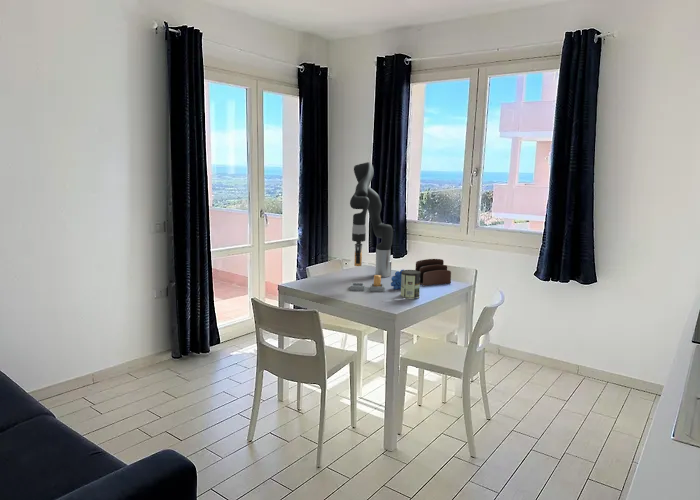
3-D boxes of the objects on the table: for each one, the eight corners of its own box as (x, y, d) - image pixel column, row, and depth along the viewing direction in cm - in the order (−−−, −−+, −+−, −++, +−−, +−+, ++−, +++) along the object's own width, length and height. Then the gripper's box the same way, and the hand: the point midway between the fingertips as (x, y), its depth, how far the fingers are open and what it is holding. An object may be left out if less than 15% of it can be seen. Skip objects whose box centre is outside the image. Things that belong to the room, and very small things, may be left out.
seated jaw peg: (377, 288, 291) (378, 274, 290) (381, 289, 288) (382, 276, 287) (372, 289, 289) (372, 275, 288) (376, 290, 286) (376, 276, 285)
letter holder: (414, 282, 314) (415, 259, 311) (441, 279, 321) (443, 257, 319) (422, 285, 304) (424, 262, 302) (451, 283, 312) (452, 260, 310)
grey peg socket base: (384, 289, 294) (385, 283, 293) (384, 294, 283) (385, 287, 283) (350, 287, 295) (350, 281, 295) (348, 292, 284) (349, 286, 284)
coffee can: (414, 293, 285) (415, 269, 283) (422, 298, 275) (423, 273, 273) (397, 294, 282) (398, 269, 280) (404, 299, 272) (405, 274, 270)
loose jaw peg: (359, 264, 290) (359, 250, 288) (362, 265, 286) (363, 251, 285) (353, 265, 288) (353, 251, 286) (356, 266, 284) (357, 252, 283)
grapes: (405, 287, 298) (406, 267, 296) (410, 290, 292) (411, 270, 290) (387, 288, 295) (388, 268, 293) (392, 291, 288) (393, 271, 286)
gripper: (353, 230, 291) (352, 260, 294) (351, 234, 277) (350, 265, 280) (366, 230, 291) (365, 260, 294) (365, 234, 277) (364, 265, 280)
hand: (358, 262), depth 287 cm, fingers closed on loose jaw peg, 4 cm apart
